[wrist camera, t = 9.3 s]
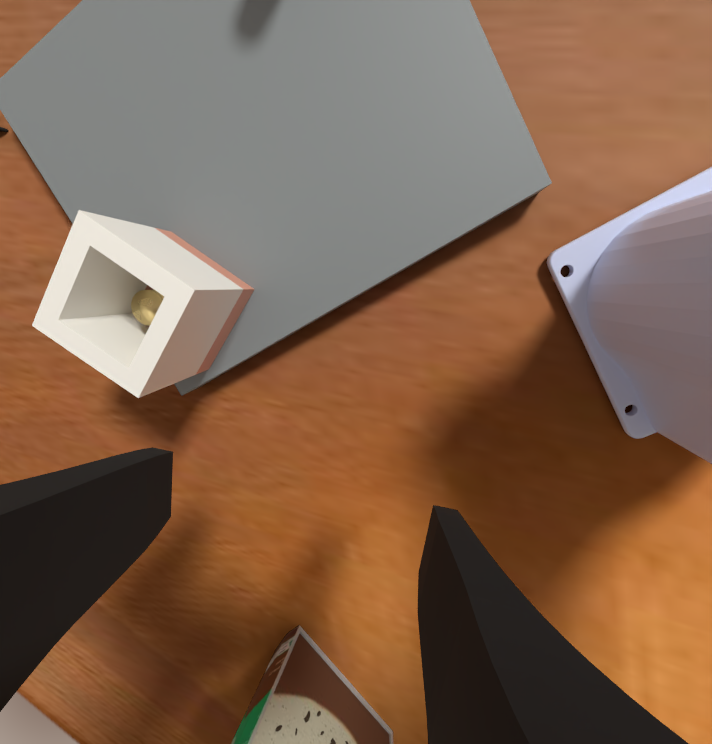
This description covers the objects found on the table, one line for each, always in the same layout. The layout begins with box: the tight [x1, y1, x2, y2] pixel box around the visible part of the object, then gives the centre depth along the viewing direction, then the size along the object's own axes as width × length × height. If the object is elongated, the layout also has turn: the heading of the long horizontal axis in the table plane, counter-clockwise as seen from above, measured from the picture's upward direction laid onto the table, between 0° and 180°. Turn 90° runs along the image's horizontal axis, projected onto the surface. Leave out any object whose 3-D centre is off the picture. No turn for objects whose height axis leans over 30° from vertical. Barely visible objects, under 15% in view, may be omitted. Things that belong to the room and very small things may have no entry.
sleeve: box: [32, 210, 254, 398], centre depth 15 cm, size 5×5×5 cm
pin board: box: [0, 0, 552, 395], centre depth 17 cm, size 16×19×2 cm
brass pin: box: [131, 290, 164, 326], centre depth 16 cm, size 1×1×3 cm
